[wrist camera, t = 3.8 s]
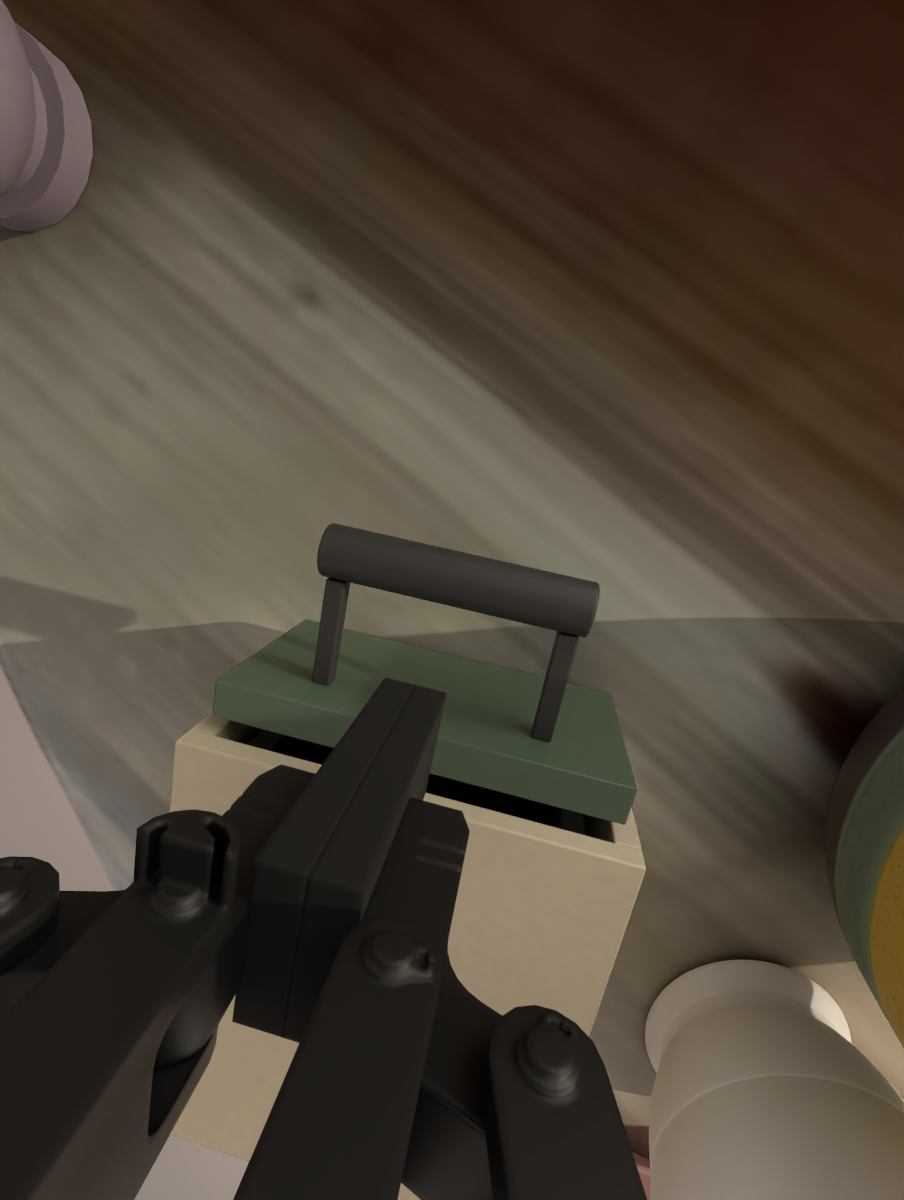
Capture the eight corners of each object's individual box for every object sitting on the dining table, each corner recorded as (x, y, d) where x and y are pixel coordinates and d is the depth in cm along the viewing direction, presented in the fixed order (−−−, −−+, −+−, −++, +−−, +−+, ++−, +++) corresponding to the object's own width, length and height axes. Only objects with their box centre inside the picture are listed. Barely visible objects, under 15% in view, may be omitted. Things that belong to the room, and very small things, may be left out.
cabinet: (295, 647, 25) (173, 740, 17) (612, 726, 24) (647, 868, 16) (255, 937, 29) (142, 1126, 21) (524, 1018, 28) (516, 1254, 20)
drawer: (322, 495, 23) (231, 512, 16) (647, 567, 21) (693, 617, 15) (265, 908, 28) (179, 1048, 21) (525, 985, 26) (518, 1159, 20)
